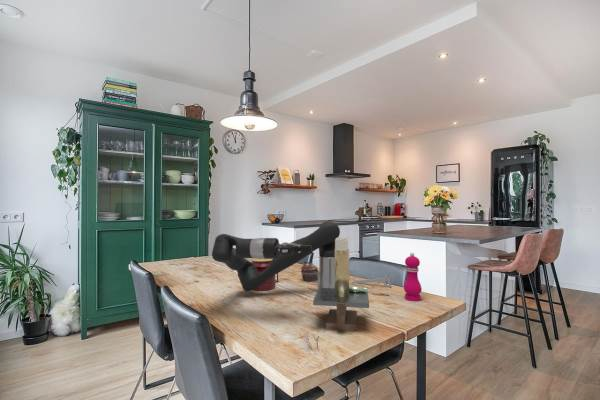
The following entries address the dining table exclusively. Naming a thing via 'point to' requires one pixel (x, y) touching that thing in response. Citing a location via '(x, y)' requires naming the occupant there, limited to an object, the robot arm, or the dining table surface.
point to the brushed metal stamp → (342, 283)
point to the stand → (342, 319)
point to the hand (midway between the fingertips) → (311, 248)
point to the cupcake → (309, 272)
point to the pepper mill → (412, 279)
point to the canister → (261, 266)
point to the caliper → (378, 280)
